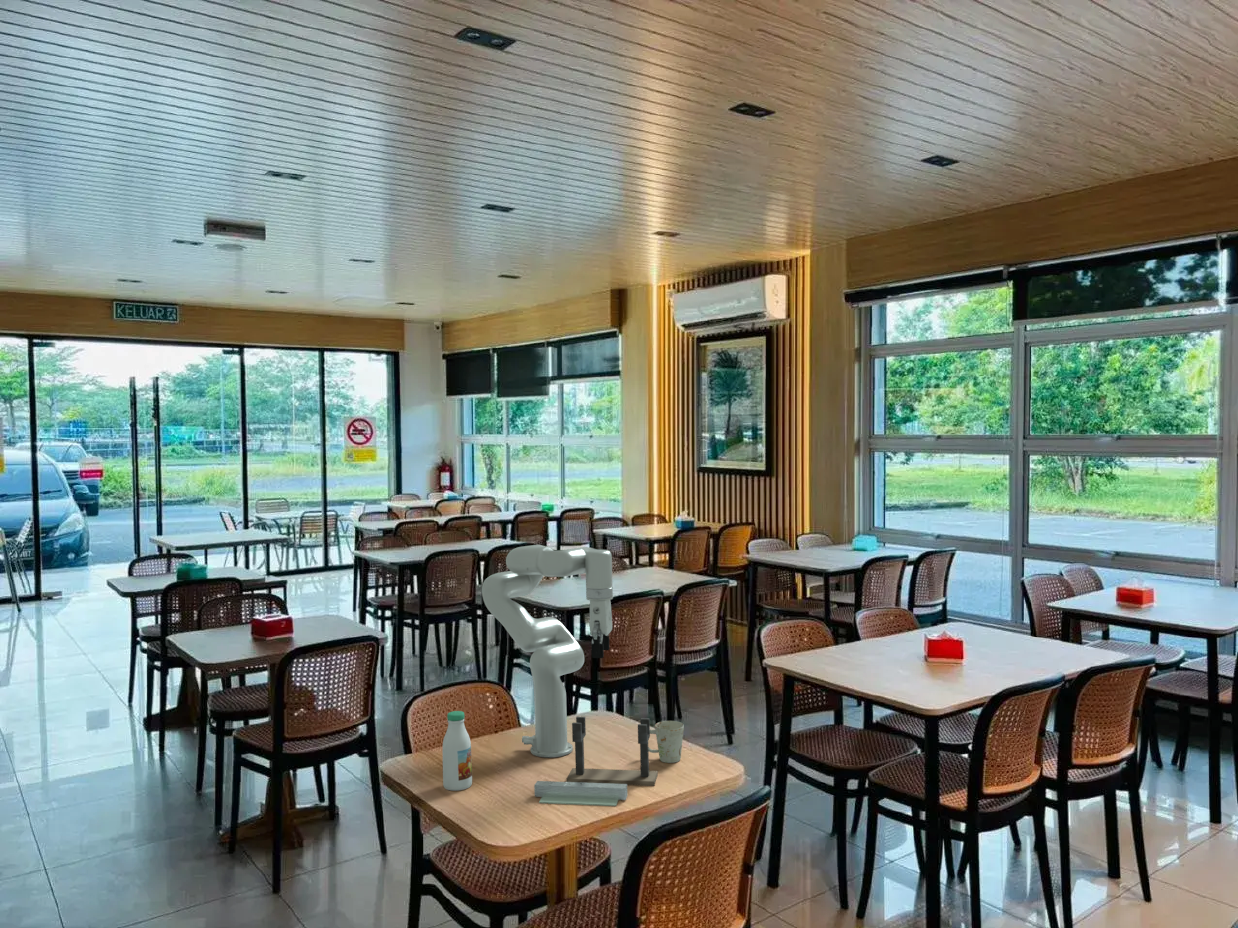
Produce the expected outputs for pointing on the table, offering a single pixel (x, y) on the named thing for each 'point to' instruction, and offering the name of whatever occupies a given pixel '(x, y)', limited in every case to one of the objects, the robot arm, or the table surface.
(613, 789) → the rail
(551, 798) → the mat
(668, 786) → the table surface
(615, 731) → the table surface
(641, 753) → the hook stand
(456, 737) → the milk bottle
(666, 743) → the mug
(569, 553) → the robot arm
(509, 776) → the table surface
